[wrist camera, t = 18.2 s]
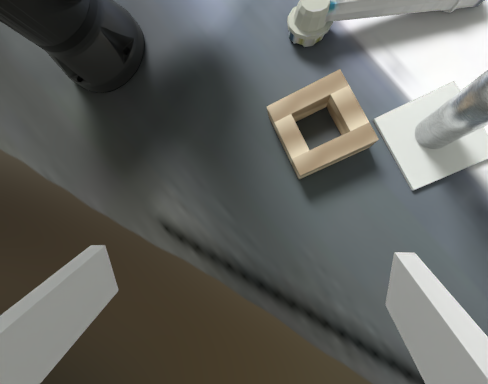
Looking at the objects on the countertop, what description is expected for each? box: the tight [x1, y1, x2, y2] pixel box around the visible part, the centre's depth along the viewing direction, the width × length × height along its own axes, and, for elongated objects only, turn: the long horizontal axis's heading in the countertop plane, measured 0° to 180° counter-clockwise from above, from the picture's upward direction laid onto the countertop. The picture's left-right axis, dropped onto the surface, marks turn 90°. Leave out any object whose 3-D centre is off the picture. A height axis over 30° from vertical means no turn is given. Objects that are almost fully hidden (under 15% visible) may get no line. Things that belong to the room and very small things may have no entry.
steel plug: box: [415, 70, 488, 149], centre depth 24 cm, size 5×5×18 cm
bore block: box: [267, 69, 379, 180], centre depth 34 cm, size 11×11×4 cm
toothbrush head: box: [287, 0, 484, 47], centre depth 34 cm, size 5×7×25 cm
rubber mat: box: [373, 81, 488, 190], centre depth 33 cm, size 11×11×1 cm
